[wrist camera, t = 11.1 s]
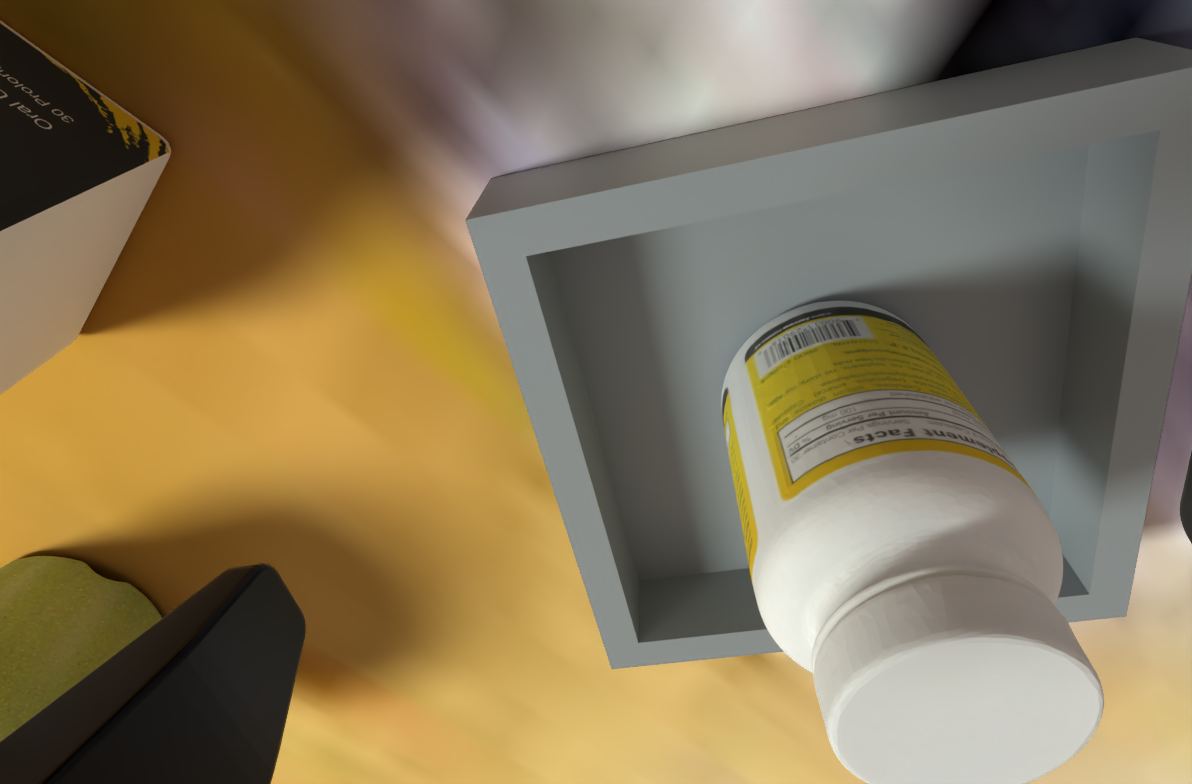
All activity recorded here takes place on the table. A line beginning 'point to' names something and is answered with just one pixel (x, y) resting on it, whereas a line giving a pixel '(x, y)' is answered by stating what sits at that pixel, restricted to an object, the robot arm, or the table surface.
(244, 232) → the table surface
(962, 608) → the supplement bottle
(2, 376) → the medicine bottle
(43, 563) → the plant pot
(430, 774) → the table surface
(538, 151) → the table surface
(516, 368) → the slate tray
